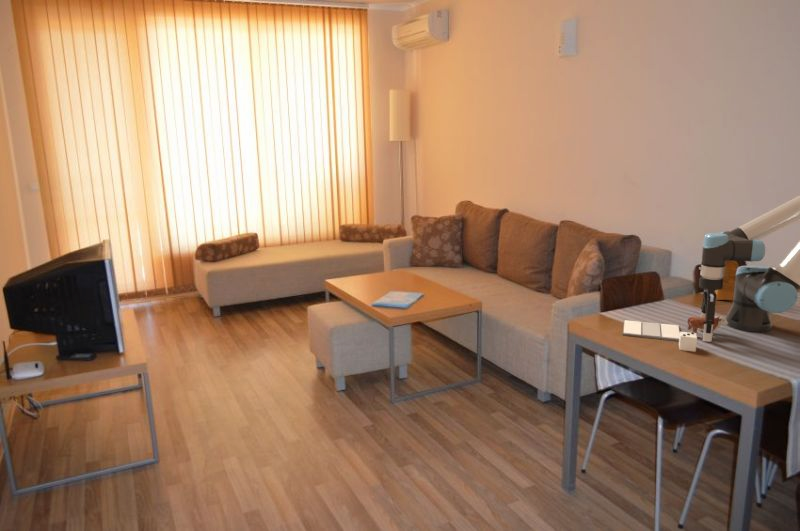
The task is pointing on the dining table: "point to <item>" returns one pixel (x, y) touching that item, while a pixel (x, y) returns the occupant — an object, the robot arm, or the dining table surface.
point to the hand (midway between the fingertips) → (705, 335)
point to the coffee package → (728, 281)
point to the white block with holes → (687, 341)
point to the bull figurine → (698, 323)
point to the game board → (651, 330)
